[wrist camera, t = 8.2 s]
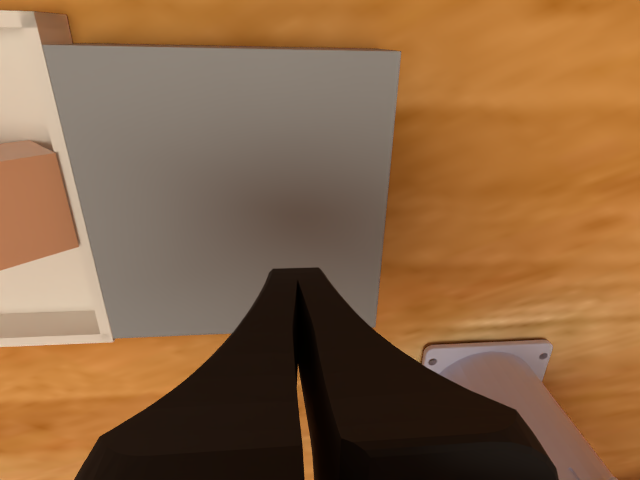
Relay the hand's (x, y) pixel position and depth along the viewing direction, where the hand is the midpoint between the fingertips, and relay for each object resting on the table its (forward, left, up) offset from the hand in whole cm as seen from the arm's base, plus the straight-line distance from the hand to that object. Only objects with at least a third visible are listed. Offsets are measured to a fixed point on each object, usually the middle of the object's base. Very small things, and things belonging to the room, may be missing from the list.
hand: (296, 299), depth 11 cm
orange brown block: (0, +12, -8) cm, 15 cm away
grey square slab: (0, +2, -10) cm, 10 cm away
